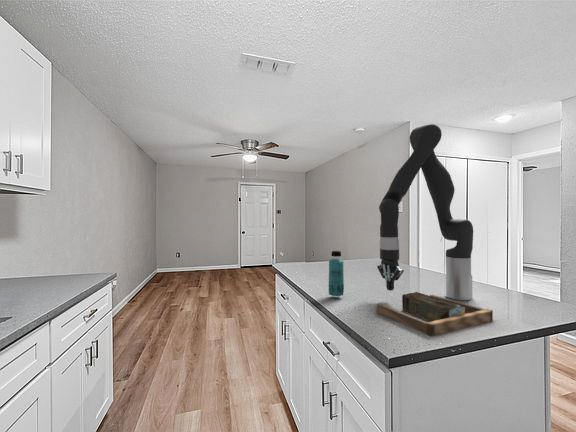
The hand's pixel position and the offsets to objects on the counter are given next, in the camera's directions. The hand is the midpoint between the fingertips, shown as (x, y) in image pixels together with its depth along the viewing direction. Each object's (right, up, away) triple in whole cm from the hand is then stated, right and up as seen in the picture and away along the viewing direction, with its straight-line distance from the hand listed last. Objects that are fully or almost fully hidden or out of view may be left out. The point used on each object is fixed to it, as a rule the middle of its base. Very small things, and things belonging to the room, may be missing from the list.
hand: (390, 289), depth 115 cm
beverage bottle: (-21, -5, +5) cm, 22 cm away
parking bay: (+8, -4, -18) cm, 20 cm away
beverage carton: (+7, -5, -19) cm, 21 cm away
